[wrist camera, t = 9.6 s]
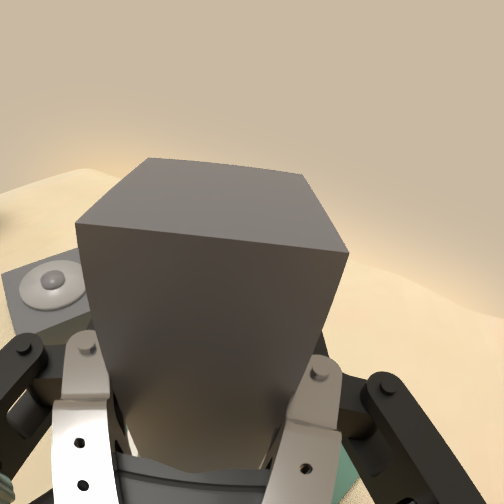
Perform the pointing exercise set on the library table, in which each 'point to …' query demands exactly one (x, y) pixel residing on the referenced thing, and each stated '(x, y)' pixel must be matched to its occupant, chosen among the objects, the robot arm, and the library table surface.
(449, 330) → the library table surface
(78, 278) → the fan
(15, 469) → the robot arm
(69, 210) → the library table surface
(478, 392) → the library table surface
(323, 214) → the gray block
